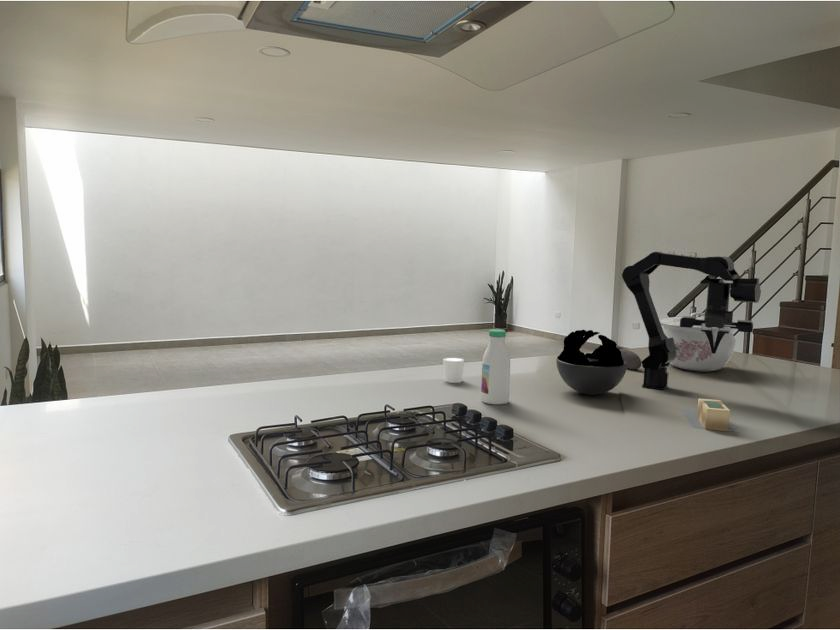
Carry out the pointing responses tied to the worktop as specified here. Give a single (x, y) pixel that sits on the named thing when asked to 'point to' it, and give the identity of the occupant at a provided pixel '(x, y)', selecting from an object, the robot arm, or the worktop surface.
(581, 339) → the coal bowl
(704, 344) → the chamber pot
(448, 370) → the white cup
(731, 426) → the slate mat
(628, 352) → the perforated stone tool
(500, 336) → the milk bottle
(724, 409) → the letter block
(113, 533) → the worktop surface
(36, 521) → the worktop surface
